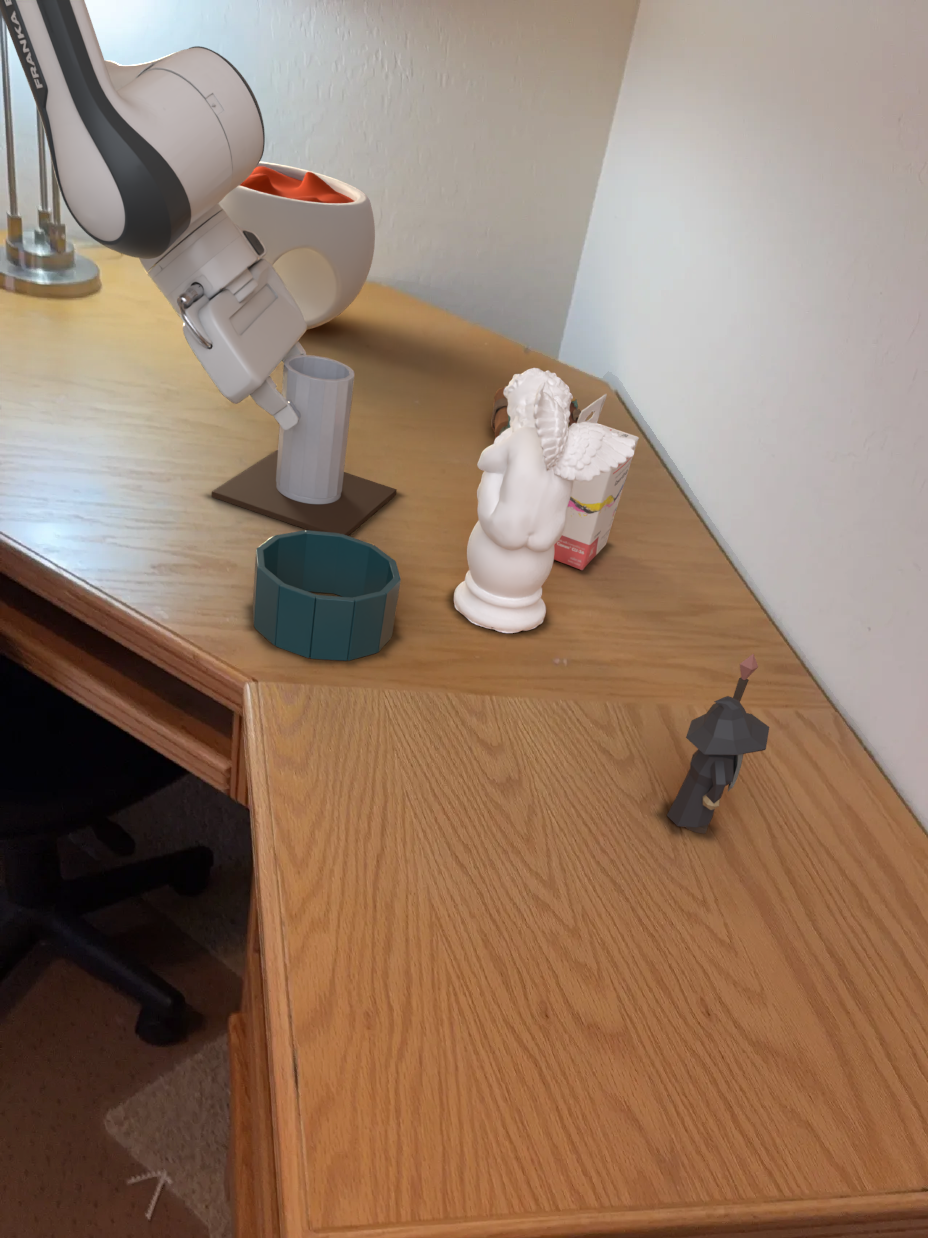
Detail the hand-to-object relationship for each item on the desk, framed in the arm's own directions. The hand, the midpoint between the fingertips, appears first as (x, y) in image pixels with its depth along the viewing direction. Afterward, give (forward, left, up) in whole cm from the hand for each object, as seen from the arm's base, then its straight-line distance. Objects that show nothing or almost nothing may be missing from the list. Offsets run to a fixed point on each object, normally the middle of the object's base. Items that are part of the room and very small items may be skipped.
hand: (305, 408), depth 102 cm
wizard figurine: (+47, -30, -9) cm, 56 cm away
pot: (-27, +49, -9) cm, 57 cm away
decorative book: (+17, +33, -9) cm, 39 cm away
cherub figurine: (+27, -10, -9) cm, 30 cm away
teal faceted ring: (+13, -22, -9) cm, 27 cm away
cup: (+1, +1, -8) cm, 8 cm away
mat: (+1, 0, -9) cm, 9 cm away
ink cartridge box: (+28, +8, -9) cm, 30 cm away
